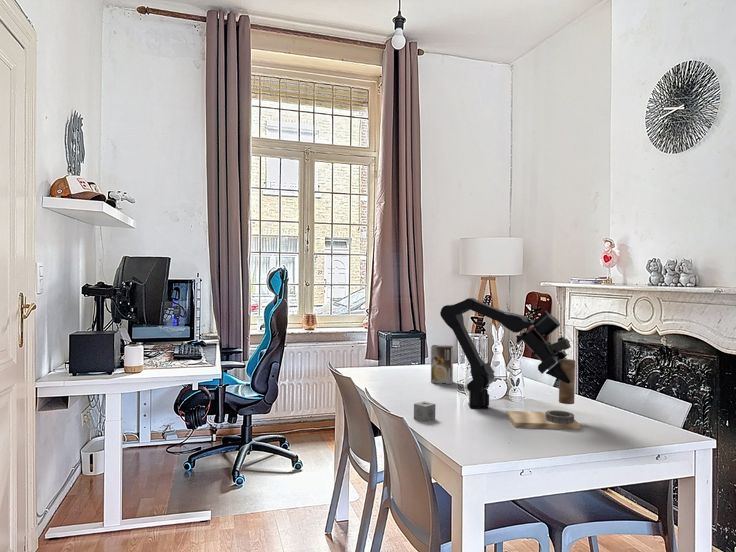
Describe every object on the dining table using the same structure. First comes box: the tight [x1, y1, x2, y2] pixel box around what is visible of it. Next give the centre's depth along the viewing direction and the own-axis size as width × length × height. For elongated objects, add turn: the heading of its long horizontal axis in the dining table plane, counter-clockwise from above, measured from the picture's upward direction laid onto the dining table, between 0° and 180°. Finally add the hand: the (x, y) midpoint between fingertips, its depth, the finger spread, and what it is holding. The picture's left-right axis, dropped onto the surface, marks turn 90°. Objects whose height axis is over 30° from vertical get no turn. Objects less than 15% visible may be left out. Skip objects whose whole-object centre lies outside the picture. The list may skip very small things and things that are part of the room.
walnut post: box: [558, 358, 576, 405], centre depth 174 cm, size 5×5×14 cm
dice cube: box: [413, 401, 436, 423], centre depth 173 cm, size 5×5×5 cm
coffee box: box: [430, 344, 454, 385], centre depth 231 cm, size 9×6×16 cm
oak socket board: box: [505, 409, 581, 430], centre depth 171 cm, size 20×14×4 cm
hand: (571, 381), depth 173 cm, fingers closed on walnut post, 5 cm apart
